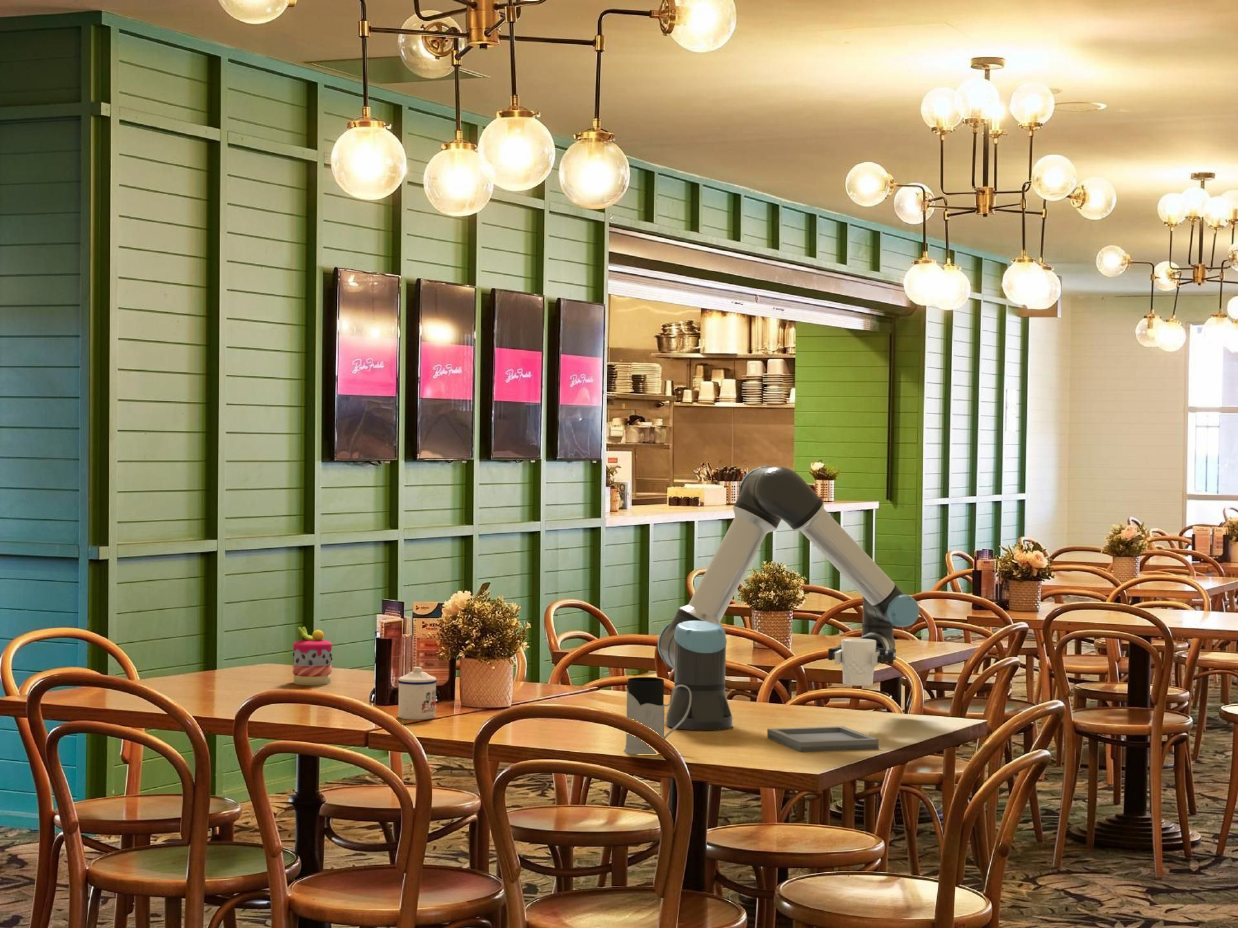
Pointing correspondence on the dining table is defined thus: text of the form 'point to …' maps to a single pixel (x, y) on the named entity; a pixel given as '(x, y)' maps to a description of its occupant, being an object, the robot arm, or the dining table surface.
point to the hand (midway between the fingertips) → (854, 659)
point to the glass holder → (648, 710)
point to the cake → (312, 659)
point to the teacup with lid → (417, 695)
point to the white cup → (857, 661)
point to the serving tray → (822, 738)
